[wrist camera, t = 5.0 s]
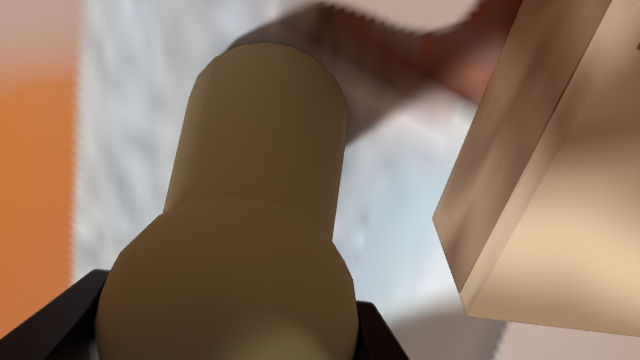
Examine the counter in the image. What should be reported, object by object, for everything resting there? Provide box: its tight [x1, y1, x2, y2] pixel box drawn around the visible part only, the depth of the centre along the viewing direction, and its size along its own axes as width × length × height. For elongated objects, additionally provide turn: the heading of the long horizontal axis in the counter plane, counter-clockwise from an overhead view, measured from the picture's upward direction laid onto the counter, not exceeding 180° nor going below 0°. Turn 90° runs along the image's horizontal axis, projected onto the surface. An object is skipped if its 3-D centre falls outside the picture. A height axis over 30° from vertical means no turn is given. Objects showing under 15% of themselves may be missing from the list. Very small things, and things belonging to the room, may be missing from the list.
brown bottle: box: [94, 42, 359, 360], centre depth 12 cm, size 6×6×11 cm
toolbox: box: [432, 0, 612, 293], centre depth 16 cm, size 12×8×4 cm, turn 169°
